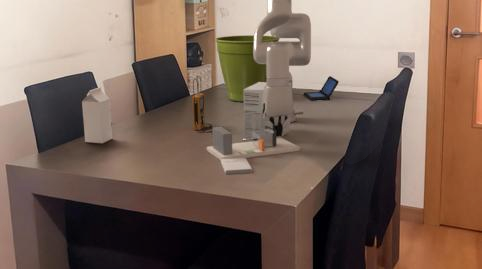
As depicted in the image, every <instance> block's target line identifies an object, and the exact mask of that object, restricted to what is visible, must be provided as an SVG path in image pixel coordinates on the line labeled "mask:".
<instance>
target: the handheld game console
mask: <svg viewBox="0 0 482 269" xmlns="http://www.w3.org/2000/svg"><path fill="white" fill-rule="evenodd" d="M339 83H340V81H339V80H338V79H336V78H334V77H332V75H331V76H330V75H329V76H328V77H327V79H326V81H325V82H324V84H323V86H322V87H321V89H320V90H319V91H306V92H303V96H304V97H305V98H307V99H308V100H309V101H311V102H317V100H323V101H330V100H331V96H332V95H333V93H334V91H335V89H336V88H337V86H338V84H339Z"/></svg>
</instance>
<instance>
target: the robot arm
mask: <svg viewBox="0 0 482 269" xmlns="http://www.w3.org/2000/svg"><path fill="white" fill-rule="evenodd" d="M292 1H293V0H266V2H267V5H266V7H267V8H266V16H265V17H264V18H263V19H262V20H261V21H260V22H259V24H258V25H257V27H256V28H255V31H254V34H253V35H254V43H253V57H254V60H255V61H256V62H257V63H259V64H266V85H267V86H264V90H263V95H262V108H261V111H262V114H263V119H264V120H267V121H270V122H271V123H272V124H273V129H275V130H276V136H277V137H279V136H282V133H283V124H284V122H285V121H286V120H287V119H288V118H290V123H294V122H296V121H297V117H296V116H297V115H303V114H304V109H297V108H296V109H295V108H294V98H293V97H294V96H293V75H292V73H291V72H290V67H292V66H293V67H296V66H298V67H302V66H304V67H305V66H307V65H309V64H310V62H311V59H312V58H311V57H312V24H311V18H310V16H309V15H308V14H307V13H301V12H300V13H297V12H295V13H294V12H292V9H293V8H292V5H293V4H292ZM268 32H269V33H270V36H273V37H275V38H280V39H298V40H299V41H288V40H287V41H286V40H285V41H280V40H278V42H261V40H262V37H263V36H265V34H266V33H268ZM289 84H291V86H289ZM277 116H278V120H277ZM282 137H283V136H282Z"/></svg>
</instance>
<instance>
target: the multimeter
mask: <svg viewBox="0 0 482 269" xmlns="http://www.w3.org/2000/svg"><path fill="white" fill-rule="evenodd" d="M198 78H199V79H198ZM199 80H200V81H202V77H200V76H199V75H198V76H196V78H193V80H192V90H193V93H192V94H193V95H192V97H191V98H192V102H191V103H192V125H193V130H194V131H196V132H197V133H201V134H202V133H208V132H212V128H213V127H214V126H212V124H211V123H208V125H209V126H208V128H211V129H208V130H205V131H200V130H202V129H203V128H204V127H205V126H206V125H207V123H206V121H205V120H206V117H205V116H206V115H205V94H204V93H202V91H200V89H202V85H200V87H199ZM195 81H196V94H195V87H194V84H195ZM199 88H200V89H199Z"/></svg>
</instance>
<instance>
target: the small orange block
mask: <svg viewBox="0 0 482 269" xmlns="http://www.w3.org/2000/svg"><path fill="white" fill-rule="evenodd" d="M258 148H259V149H261V150H265V141H264V140H262V139H258Z"/></svg>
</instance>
